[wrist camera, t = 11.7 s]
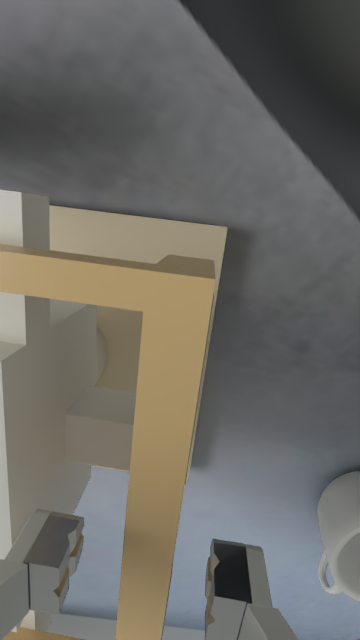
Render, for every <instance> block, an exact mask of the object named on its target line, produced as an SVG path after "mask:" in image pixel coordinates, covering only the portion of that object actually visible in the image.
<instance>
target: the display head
mask: <svg viewBox="0 0 360 640" xmlns="http://www.w3.org/2000/svg"><path fill="white" fill-rule="evenodd" d="M227 228H228V227H223V226H214V225H206V224H198V223H190V222H182V221H174V220H165V219H157V218H149V217H141V216H133V215H125V214H117V213H108V212H100V211H92V210H84V209H76V208H68V207H59V206H51V205H49V197H47V196H41V195H35V194H28V193H22V192H14V191H6V190H0V244H6V245H14V246H21V247H29V248H37V249H44V250H52V251H60V252H67V253H75V254H83V255H90V256H98V257H106V258H113V259H121V260H129V261H136V262H144V263H151V264H156V263H158V262H159V261H160V260H162V259H163V258H164V257H166V256H167V255H168V254H170V255H178V256H186V257H194V258H201V259H209V260H214V266H215V278H216V280H215V287H214V300H213V307H212V314H211V320H210V327H209V333H208V340H207V346H206V353H205V359H204V366H203V372H202V379H201V386H200V392H199V399H198V405H197V412H196V418H195V425H194V431H193V438H192V444H191V451H190V458H189V464H188V471H187V477H186V482H188V479H189V473H190V466H191V460H192V453H193V447H194V441H195V434H196V428H197V421H198V415H199V408H200V402H201V396H202V389H203V383H204V376H205V370H206V363H207V357H208V351H209V344H210V338H211V331H212V325H213V318H214V312H215V305H216V299H217V293H218V286H219V280H220V273H221V267H222V260H223V254H224V248H225V241H226V235H227ZM142 321H143V312H142V311H135V310H128V309H121V308H114V307H106V306H99V305H92V304H85V303H78V302H71V301H63V300H56V299H49V298H42V297H35V296H27V295H20V294H13V293H6V292H0V559H3V560H4V559H5V557H6V556H7V554H8V552H9V551H10V549H11V548H12V546H13V544H14V543H15V541H16V539H17V538H18V536H19V534H20V533H21V531H22V530H23V528H24V526H25V525H26V523H27V521H28V520H29V518H30V517H31V515H32V513H33V512H34V511H35V510H36V509H43V510H49V511H54V512H59V513H64V514H69V515H73V513H74V511H75V509H76V507H77V505H78V502H79V500H80V498H81V496H82V494H83V492H84V490H85V488H86V486H87V483H88V481H89V479H90V474H91V466H94V467H100V468H106V469H112V470H117V471H123V472H129V473H130V461H131V450H132V438H133V426H134V415H135V403H136V391H137V379H138V368H139V356H140V344H141V332H142ZM51 624H52V613H46V612H40V611H33V610H29V613H28V614H27V615H26V616H25V617H24V618H23V619H22V620H21V621H20V622H19V623H18V624H17V625H16V626H15V627H14V628H13V629H12V630H11V631H13V632H17V631H18V629H19V627H23V628H28V629H33V630H38V631H43V632H48V631H49V629H50V626H51Z"/></svg>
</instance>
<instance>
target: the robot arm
mask: <svg viewBox="0 0 360 640" xmlns="http://www.w3.org/2000/svg"><path fill="white" fill-rule="evenodd" d="M83 527H84V518H83V517H79V516H74V515H69V514H64V513H59V512H54V511H49V510H43V509H36V510H35V511H34V512H33V513H32V515H31V517H30V518H29V520H28V521H27V523H26V525H25V526H24V528H23V530H22V531H21V533H20V534H19V536H18V538H17V539H16V541H15V543H14V544H13V546H12V548H11V549H10V551H9V552H8V554H7V556H6V557H5V559H4V560H3V559H0V640H2V639H3V638H4V637H5V636H6V635H7V634H8V633H9V632H10V631H11V630H12V629H13V628H14V627H15V626H16V625H17V624H18V623H19V622H20V621H21V620H22V619H23V618H24V617H25V616H26V615H27V614H28V613H29V610H33V611H40V612H46V613H53V614H59V612H60V610H61V607H62V605H63V602H64V600H65V597H66V594H67V592H68V589H69V577H70V576H71V575H72V574H73V573H75V571H76V568H77V566H78V563H79V560H80V556H81V552H82V548H83V539H84V536H83V535H82V533H81V532H82V529H83ZM205 596H206V598H207V605H206V610H205V640H298V638H297V637H296V635H295V634H294V632H293V631H292V629H291V628H290V626H289V625H288V623H287V622H286V620H285V619H284V617H283V616H282V614H281V613H280V611H279V610H278V609H276V608H273V607H272V601H271V595H270V589H269V583H268V577H267V572H266V566H265V560H264V554H263V550H262V548H261V547H259V546H253V545H247V544H244V543H237V542H231V541H224V540H218V539H212V542H211V546H210V557H209V558H208V562H207V569H206V580H205Z"/></svg>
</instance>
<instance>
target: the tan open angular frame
mask: <svg viewBox="0 0 360 640" xmlns="http://www.w3.org/2000/svg"><path fill="white" fill-rule="evenodd" d="M215 280H216V278H215V266H214V260H209V259H201V258H194V257H186V256H178V255H170V254H168V255H167V256H166V257H164V258H163V259H162V260H160V261H159V262H158V263H156V264H151V263H144V262H136V261H129V260H121V259H113V258H106V257H98V256H90V255H83V254H75V253H67V252H60V251H52V250H44V249H37V248H29V247H21V246H14V245H6V244H0V292H6V293H13V294H20V295H27V296H35V297H42V298H49V299H56V300H63V301H71V302H78V303H85V304H92V305H99V306H106V307H114V308H121V309H128V310H135V311H142V312H143V321H142V332H141V344H140V356H139V368H138V379H137V391H136V403H135V415H134V426H133V438H132V450H131V461H130V473H129V485H128V497H127V508H126V520H125V532H124V544H123V555H122V567H121V579H120V591H119V602H118V614H117V626H116V638H115V640H162V634H163V628H164V621H165V615H166V608H167V602H168V595H169V588H170V582H171V575H172V566H173V557H174V550H175V544H176V537H177V531H178V524H179V517H180V511H181V504H182V498H183V491H184V484H186V477H187V471H188V464H189V458H190V451H191V444H192V438H193V431H194V425H195V418H196V412H197V405H198V399H199V392H200V386H201V379H202V372H203V366H204V359H205V353H206V346H207V340H208V333H209V327H210V320H211V314H212V307H213V300H214V287H215ZM2 640H83V639H78V638H73V637H68V636H63V635H58V634H53V633H48V632H43V631H38V630H33V629H28V628H23V627H19V629H18V631H17V632H13V631H10V632H9V633H8V634H7V635H6V636H5V637H4V638H3V639H2Z"/></svg>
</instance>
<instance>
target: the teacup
mask: <svg viewBox="0 0 360 640" xmlns="http://www.w3.org/2000/svg"><path fill="white" fill-rule="evenodd" d="M317 516H318V522H319V527H320V533H321V537H322V542H323V546H324V549H325V550H324V552H323V555H322V557H321V560H320V563H319V568H318V576H319V580H320V583H321V585H322V587H323V588H324V590H325V591H327V592H328V593H330V594H332V595H338V594H340V593H342V592H344V593H345V594H346V595H348V596H349V597H351V598H353V599H355V600H357V601H359V602H360V471H355V472H350V473H346V474H344V475H341V476H339V477H338V478H336V479H334V480H333V481H332V482H331V483H330V484H329V485H328V486H327V487H326V488H325V490H324V491H323V493H322V495H321V497H320V500H319V503H318V509H317ZM327 565H329V569H330V572H331V574H332V577H333V579H334V584H333V586H331V587H330V586H329V584H328V581H327V577H326V569H327Z"/></svg>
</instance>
